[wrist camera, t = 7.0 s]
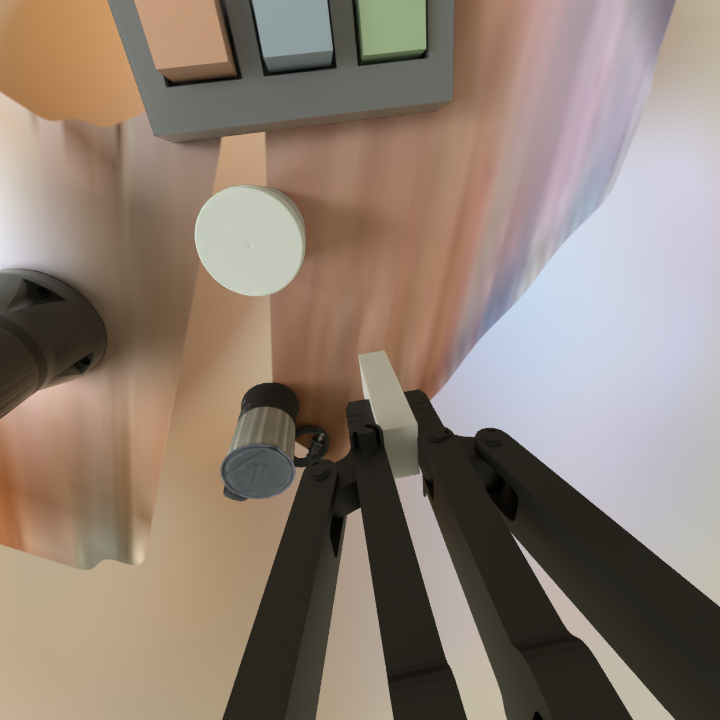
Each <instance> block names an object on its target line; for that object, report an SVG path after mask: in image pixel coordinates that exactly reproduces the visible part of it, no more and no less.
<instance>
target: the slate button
mask: <svg viewBox="0 0 720 720" xmlns="http://www.w3.org/2000/svg"><path fill="white" fill-rule="evenodd" d="M252 1H253V6H254V11H255V16H256V21H257V27H258V32H259V37H260V42H261V47H262V52H263V57H264V60H265V63H266V66H267V68H268V71H269V73H270V72H279V71H288V70H297V69H306V68H315V67H324V66H331V60H332V53H333V46H332V38H331V29H330V21H329V12H328V4H327V0H252Z"/></svg>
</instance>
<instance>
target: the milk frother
mask: <svg viewBox="0 0 720 720" xmlns="http://www.w3.org/2000/svg"><path fill="white" fill-rule="evenodd" d="M298 412H299V402H298V399H297V397H296V395H295V394H294V393H293V392H292V391H291V390H290V389H289V388H287V387H285V386H283V385H281V384H277V383H262V384H259V385H256V386H254V387H252V388H251V389H250V390H248V392H247V393H246V394H245V395H244V397H243V400H242V404H241V413H240V416H239V419H238V423H237V426H236V429H235V432H234V435H233V438H232V442H231V445H230V448H229V452H228V455H227V456H226V458H225V459H224V460H223V462H222V465H221V469H220V474H221V477H222V481H223V483H224V484H225V486H224V495H225V496H226V497H228V498H230V499H233V500H237V501H245V500H246V499H248V498H251V499H264V498H269V497H273V496H276V495H278V494H280V493H282V492H283V491H285V490H286V489H287V488H288V487H289V486H290V485H291V483H292V482H293V480H294V477H295V467H306V466H308V465H309V464H310V463H312V462H314V461H316V460H320V459H322V458H323V456H324V455H325V454H326V452H327V450H328V447H329V439H328V436H327V435H326V433H325V432H324V431H323V430H321V429H319V428H317V427H313V426H305V427H301V428H299V429H297V430H296V418H297V415H298ZM307 433H313V434H317V435H318V438H316V437H313V438H312V440H313V441H312V444H311V447H310V448H309V453H308V454H307V456H306V457H305V458H297V457H295V456H294V447H295V439H296V438H298V437H299V436H301V435H303V434H307ZM320 446H322V447H321V449H320V450H319V448H320ZM318 450H319V452H318V453H317V454H316V452H317V451H318Z"/></svg>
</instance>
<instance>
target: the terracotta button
mask: <svg viewBox="0 0 720 720" xmlns="http://www.w3.org/2000/svg"><path fill="white" fill-rule="evenodd" d="M134 2H135V5H136V8H137V11H138V14H139V17H140V20H141V23H142V27H143V30H144V33H145V36H146V39H147V42H148V45H149V48H150V52H151V55H152V58H153V61H154V64H155V67H156V70H158V71H159V72H160V73H162V74H163V75H164V76H165V77H167V78H168V79H169V80H171V81H172V82H173V83H180V82H189V81H198V80H207V79H216V78H225V77H234V76H238V75H237V71H236V66H235V62H234V58H233V53H232V49H231V45H230V40H229V36H228V31H227V27H226V23H225V18H224V14H223V10H222V5H221V1H220V0H134Z"/></svg>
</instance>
